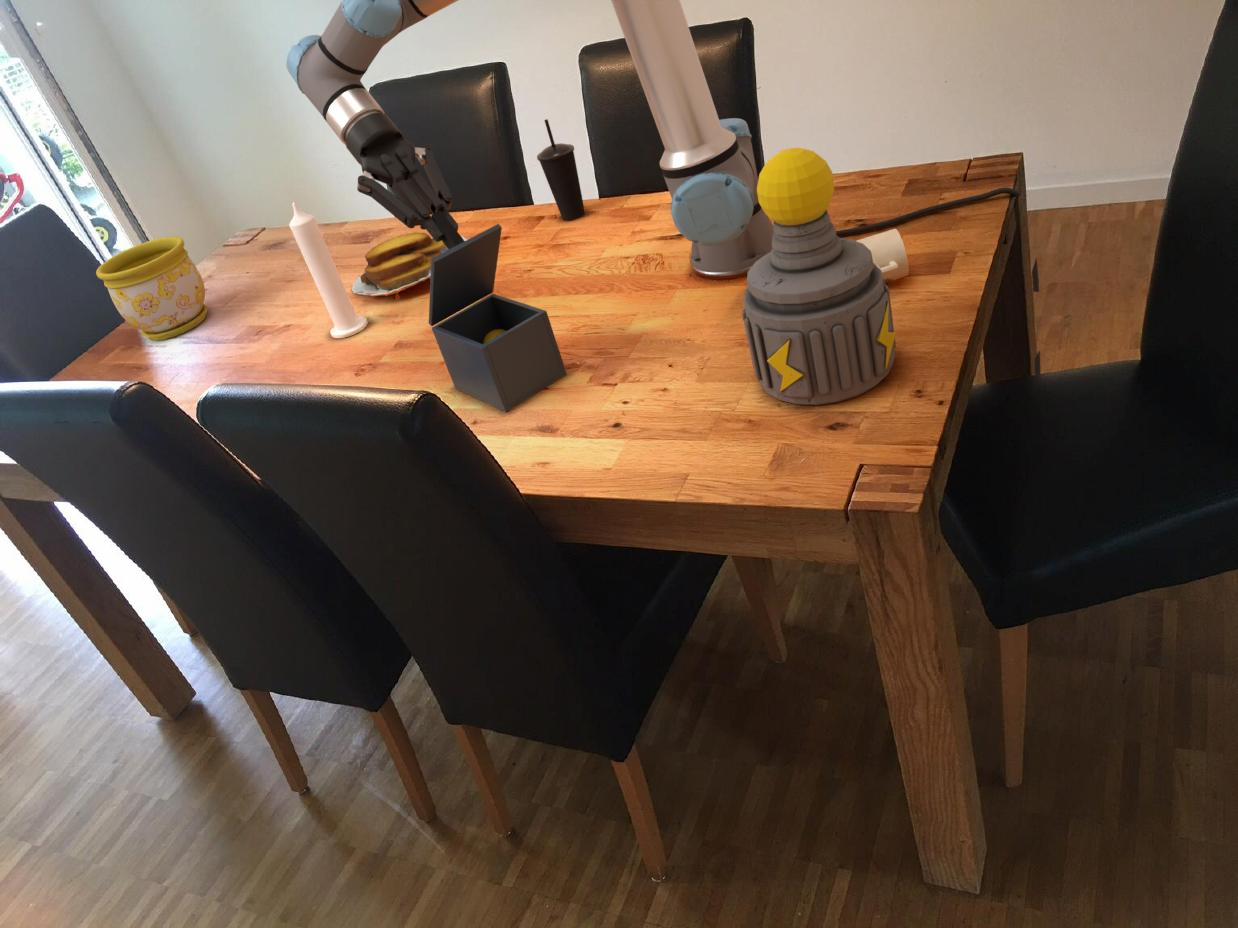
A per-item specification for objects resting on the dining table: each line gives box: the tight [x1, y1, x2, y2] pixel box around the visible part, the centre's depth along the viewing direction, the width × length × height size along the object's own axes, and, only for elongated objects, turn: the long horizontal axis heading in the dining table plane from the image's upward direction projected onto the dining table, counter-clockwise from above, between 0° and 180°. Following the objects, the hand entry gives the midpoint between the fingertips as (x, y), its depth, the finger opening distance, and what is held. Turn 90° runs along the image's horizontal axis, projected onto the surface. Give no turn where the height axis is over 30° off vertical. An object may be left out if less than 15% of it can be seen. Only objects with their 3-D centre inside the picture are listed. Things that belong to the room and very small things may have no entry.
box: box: [431, 293, 568, 413], centre depth 153 cm, size 15×12×11 cm
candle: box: [288, 202, 368, 339], centre depth 184 cm, size 7×7×25 cm
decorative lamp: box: [741, 147, 897, 406], centre depth 127 cm, size 19×19×30 cm
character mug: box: [856, 228, 910, 283], centre depth 150 cm, size 11×7×13 cm
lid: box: [428, 223, 503, 327], centre depth 149 cm, size 15×12×1 cm
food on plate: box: [350, 231, 468, 304], centre depth 204 cm, size 25×25×7 cm
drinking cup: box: [536, 118, 586, 222], centre depth 205 cm, size 8×8×20 cm
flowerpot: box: [95, 236, 208, 341], centre depth 213 cm, size 18×18×16 cm
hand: (462, 252), depth 145 cm, fingers closed
